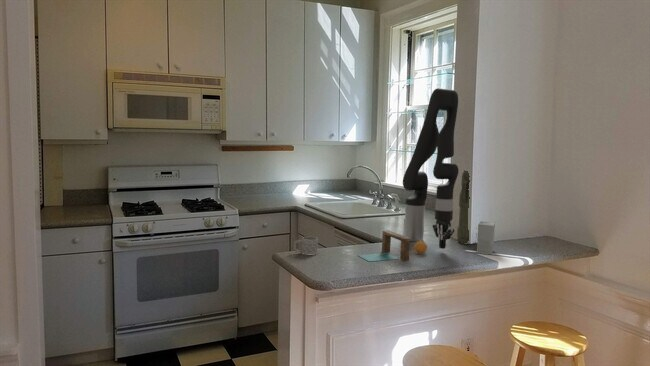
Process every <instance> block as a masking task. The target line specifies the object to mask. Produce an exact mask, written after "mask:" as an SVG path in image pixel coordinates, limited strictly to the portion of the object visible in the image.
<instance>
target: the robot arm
mask: <svg viewBox="0 0 650 366" xmlns="http://www.w3.org/2000/svg"><path fill="white" fill-rule="evenodd" d="M458 108H459V94H458V93H457V91H456V90H453V89H447V88H435V89H434V90H433V91H432V93H431V95H430V97H429V102H428V105H427V110H426V113H425V117H424V122H423V124H422V128H421V129H420V133H419V135H418V139H417V141H416V144H415V149H414V151H413V153H412V156H411V159H410V161H409V164H408V166H407V168H406V170H405V172H404V175H403V178H402V186H403V188H404V189H405V190H406V191H409V192H410V191H411V192H413V193H412V195H409V196H408V197H406V199H405V205H404V206H405V209H404V210H405V211H404V212H405V213H404V219H403V233H402V234H403V235H402V236H405V237H408V238H410V242H418V241H422V242H424V232H425V214H426V213H425V209H426V200H427V196H428V187H429V186H428V185H429V178H428V174H427V173H426V172H425V171H421V168H422V167H423V165H424V164H425V163H426V162H427V161H428V160H429V159H430V158H431V157H432V156H433V155H434V154H435V152H436V151H437V152H436V158H435V159H436V160H435V163H434V166H433V170H432V173H433V177H434V178H435V179H437V180H447V182H446V183H444V184H443V183H442V184H439V185H437V186H436V195H435V196H436V198H435V205H434V206H435V208H434V219H435V220H436V221H435V224H432V228H433V232H434V234H435V238H438V246H439V249H446V246H447V245H446V244H447V241H448V240H450V239H451V237H452V236H453V234H454V232H455V229H454V228H452V225H451V224H452V223H451V221H453V217H454V215H453V213H454V188H455V184H456V181H457V178H458V176H459V167H458V165H457V164H456V163H453V162H450V163H449V162H443V161H444V160H445V159H451V158H453V157H454V154H455V140H454V139H455V127H456V123H457V116H458ZM439 111H444V112H445V111H446V118H445V122H444V124H443V125H442V128H440V129H441V130H440V131H439V128H438V125H437V124H438V123H437V118H438V115H439Z"/></svg>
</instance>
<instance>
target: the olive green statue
mask: <svg viewBox="0 0 650 366" xmlns="http://www.w3.org/2000/svg"><path fill="white" fill-rule="evenodd" d="M463 171H464V172H462V174H461V188H462V189H460V192H459V197H458V200H459V201H458V206H459V215H458V216H459V219H458V226H457V228H456V229H457V230H456V232H457V233H456V237H457V239H456V242H457V241H458V242H462V243H467V242H468V241H469V230H468V208H469V199H470V197H469V190H468V189H469V182H470V180H469V177H470V176H469V173H468V171H465V169H464V170H463ZM458 242H457V243H458ZM462 243H461V244H462Z"/></svg>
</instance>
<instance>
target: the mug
mask: <svg viewBox="0 0 650 366" xmlns="http://www.w3.org/2000/svg"><path fill="white" fill-rule="evenodd" d="M318 241H319V238H318V237H316V236H303V237H301V239H296V240H294V241H293V251H294V252H296V253H301V254H302V253H304V254H317V255H318V248H319V247H318V246H319V245H318V243H319V242H318ZM299 243H301V249H300V248H299V249H298V248H297V244H299ZM297 251H299V252H297Z"/></svg>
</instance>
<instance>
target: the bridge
mask: <svg viewBox="0 0 650 366" xmlns="http://www.w3.org/2000/svg"><path fill="white" fill-rule="evenodd" d="M381 236H382V239H381V240H382V241H381V253H391V246H392V245H391V242H392V241H391V240H392V239H391V238H393V239H396V240H398V241H400V257H399V261H401V262H409V261H410V250H411V241H410V238H408V237H405V236H403V235H402V234H399V233H396V232H394V231H391V230H389V229H388V230H382V235H381Z"/></svg>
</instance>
